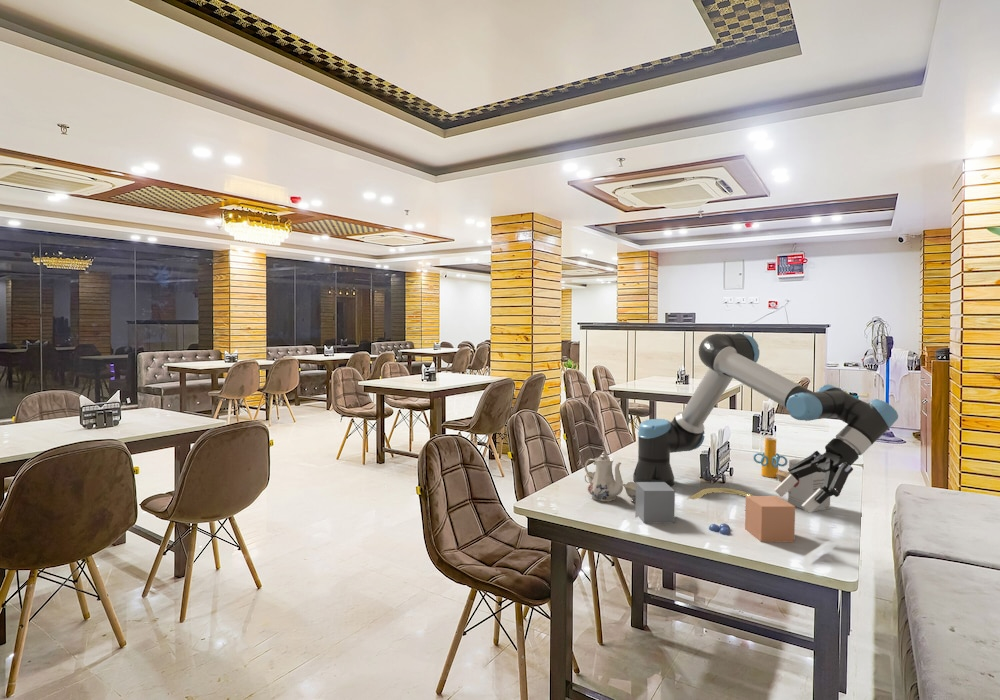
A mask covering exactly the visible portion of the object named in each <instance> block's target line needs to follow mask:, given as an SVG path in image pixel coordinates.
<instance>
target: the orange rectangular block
mask: <svg viewBox="0 0 1000 700" xmlns="http://www.w3.org/2000/svg"><path fill="white" fill-rule="evenodd" d="M744 508H745V509H744V511H745V512H744V513H745V514H744V515H745V516H744V518H745V519H744V520H745V521H744V530H745V531H747V532H748V533H749V535H751V536H752V537H754V538H755V539H757V540H758V541H759V542H760V543H762V542H763V543H769V542H770V543H776V542H777V543H780V542H781V543H783V542H785V543H790V542H791V543H794V542H795V531H796V529H795V528H796V525H795V524H796V506H794V505H792V504H790V503H788V501H786V500H785V499H783V498H782V497H781V496H777V495H754V496H746V497H745V507H744Z"/></svg>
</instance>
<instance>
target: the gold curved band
mask: <svg viewBox="0 0 1000 700" xmlns="http://www.w3.org/2000/svg"><path fill="white" fill-rule="evenodd" d="M712 492H714V493H722V492H724V493H726V494H733V495H737V494H739V495H738V496H741V495H743V496H742V497H744V496H755V495H754V494H752V493H750V492H746V491H744V490H738V489H733V488H724V487H711V488H704V489H701V490H700V491H698V492H696V493H694V494H693V495H691V496H690V497H688V498H687V499H685V500H687V501H688V500H689V499H690V500H696V499H701V498H702V497H703V495H704V494H705V495H707V493H708V494H712ZM705 495H704V496H705Z"/></svg>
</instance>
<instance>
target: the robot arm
mask: <svg viewBox="0 0 1000 700" xmlns="http://www.w3.org/2000/svg"><path fill="white" fill-rule="evenodd" d="M698 356H699V359H700V361H701V362H702V363H703V364H704V365H705V366H706V367H707V368H708V370H707V371H706V372H705V374H704V376H703V378H702V379H701V381H700V383H699V384H698V385H697V387H696V388H695V390H694V393H692V396H691V397H690V399H689V400H688V402H687V403H686V405H685V406H684V409H683V410H682V411H678V412H677V413H676V414H675V415H674V417H673V418H672V420H671V421H670V420H668V419H665V418H651V419H646V420H644V421H642V422H640V424H639V425H638V432H637V434H638V437H637V438H638V444H637V445H638V454H637V455H638V456H637V459H638V460H637V462H636V466H635V468H634V472H633V475H632V476H633V477H632V479H633V481H632V482H634V483H636V482H665V483H666V484H668V485H669V486H670V487H671V486H673V485H674V484H675V475H674V473H673V470H672V469H673V468H672V466H671V460H670V459H671V453H672V454H673V453H681V452H690V451H693V450H696V449H697V450H698V448H700V447H701V446H702V445H703V443H704V441H705V437H706V436H705V435H704V434H705V425H704V423H705V421H706V420H707V418H708V417H709V416H710V415H711V413H712V411H713V410H714V407H716V404H718V402H719V400H720V398H721V397H722V396H723V394H724V393H725V391H726V390H727V387H728V386H729V384H730V383H731V382H732V381H733V379H735V380H736V381H738V382H739V383H742V384H743V385H745V386H746V387H748V388H750V389H752V390H754V391H756V392H758V394H761V395H763V396H764V397H766V398H768V399H770V400H771V401H774V402H775V403H777V404H778V405H780V406H782V407H784V408H786V411H787V412H788V414H789V415H790V417H791V418H793V419H794V420H796V421H797V420H798V421H806V422H807V421H814V420H822V419H831V418H832V419H833V418H837V419H838V420H840V421H842V422H843V423H845V424H846V425H845V426H844V427H843V428H842V429H841V430H840V431H839V432H837V434H836V435H835V438H832V439H831V440H830V441H828V443H827V444H826V445H825V446H824V449H825V452H824V453H822V454H821V453H820V452H819V451H818V450H816V451H813V453H811V454H810V455H809V456H807V457H805V459H804V458H803V459H804V460H802V461H800V462H798V463H797V464H795V465H793V466H791V467H790V468H789V467H788V468H787V472H789V473H790V474H789V475H788V476H787V477H786V479H785V480H783V482H782V483H781V482H780V483H779V484H778V486H776V487H775V488H774V489H773V490H774V492H775V493H776V494H778V495H779V497H780V498H783V497H784V496H785V495H786V494H787V493H788V491H789V490H790V489H791V488H792V487H793V486H794V485H795V484H796V483H797V482H798V481H799V478H802V477H804V476H807V475H810V474H812V473H815V472H824V473H826V474H825V479H824V483H823V486H821V488H822V489H823V491H822V489H820V488H819V489H818V490H817V491H816V492H815V493H814V494H813V495H812V496H811V497H810V498H809V499H807V500H806V501H805V502H804V503H803V504H802V505H801V506H802V507H803V508H804V509H803V510H805V512H807V513H808V514H811V513H813V512H814V511H813V510H814V509H815V508H816V507H817V506H818V505H819V504H821V503H822V502H823V501H824V500H825V499H826V498H828V497H829V496H830V497H832V496H834V497H835V498H837V497H839V496H840V494H841V491H842V490H843V488H844V485H845V483H846V482H847V479H848V477H849V475H850V474H851V473H852V472H853V471H854V468H853V467H852V465H853V464H854V463H855V462H857V460H858V459H859V456H862V455H863V454H864V453H865V452H866V451H867V450H868V449H869V448H871V446H872V445H873V444H874V443H875V442H876V441H878V439H880V438H881V437H882V436H883V435H884V434H885V433H886V432H887V431H888V430H890V428H891V427H892V426H893V425H894V424H895V422H897V420H898V419H899V414H898V412H897V410H896V409H895V408H894V407H893V406H892V405H891V404H889V403H888V402H886V401H884V400H882V399H881V400H880V399H877V398H875V399H872V400H870V401H869V402H865V401H863V400H861V399H859V398H858V397H856V396H853V395H852V394H850V393H848V392H847V391H845V390H843V389H841V388H840V387H837V386H834V385H832V384H824V385H823V386H821V387H820V388H818V389H817V390H816V391H812V390H810V389H808V388H806V387H804V386H802V385H801V384H798V383H797V382H795V381H793V380H790V379H789V378H787V377H785V376H783V375H781V374H780V373H779V374H778V373H777V372H775V371H773V370H771V369H769V368H768V367H765V366H763V365H761V364H760V363H758V361H759V358H760V349H759V344H758V342H757V340H756V339H755V338H754V337H753V336H751V335H750V334H745V333H713V334H710V335H708V336H706V337H705V338H704V339H703V340H702V341H701V342H700V344H699V347H698ZM812 511H813V512H812Z"/></svg>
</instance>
